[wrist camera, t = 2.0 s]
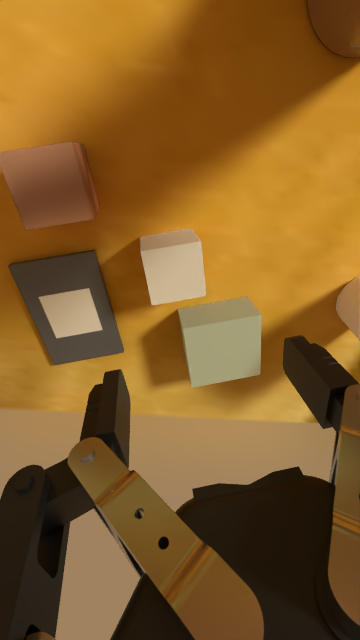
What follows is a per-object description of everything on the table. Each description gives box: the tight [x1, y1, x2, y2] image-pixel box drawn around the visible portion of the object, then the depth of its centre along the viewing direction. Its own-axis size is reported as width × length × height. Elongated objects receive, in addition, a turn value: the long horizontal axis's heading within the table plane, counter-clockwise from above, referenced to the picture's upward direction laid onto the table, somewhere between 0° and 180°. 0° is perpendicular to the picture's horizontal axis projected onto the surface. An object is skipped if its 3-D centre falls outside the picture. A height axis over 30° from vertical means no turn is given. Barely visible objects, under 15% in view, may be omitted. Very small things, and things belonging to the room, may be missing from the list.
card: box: [8, 250, 124, 365], centre depth 30 cm, size 12×8×1 cm, turn 8°
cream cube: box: [140, 228, 206, 305], centre depth 26 cm, size 5×5×5 cm
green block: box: [178, 297, 262, 388], centre depth 32 cm, size 8×8×4 cm
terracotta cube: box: [0, 142, 100, 230], centre depth 22 cm, size 5×5×5 cm
